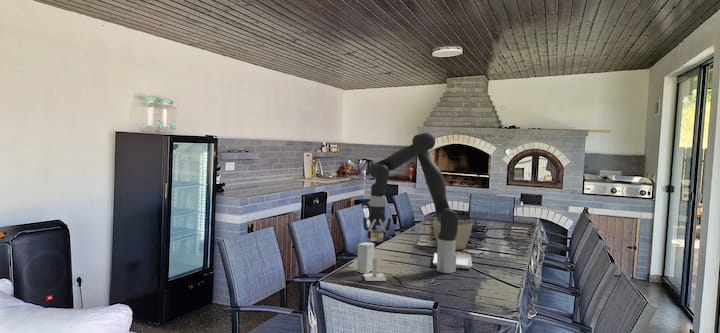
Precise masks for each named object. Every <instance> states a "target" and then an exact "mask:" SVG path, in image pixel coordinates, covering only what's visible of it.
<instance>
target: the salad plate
mask: <svg viewBox="0 0 720 333" xmlns="http://www.w3.org/2000/svg"><path fill="white" fill-rule="evenodd" d="M432 263H433V265H434V266H436V267H437V252H434V255H433V260H432ZM472 267H473V263H472V256H471V255H462V254H456V269H460V268H462V270H463V269H467V270H468V269H470V268H472Z"/></svg>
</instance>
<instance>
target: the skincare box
mask: <svg viewBox="0 0 720 333" xmlns="http://www.w3.org/2000/svg"><path fill="white" fill-rule="evenodd" d="M373 258H375V243H374V242H370V241H369V242H367V241H364V242H362V243H358V244H357V258H356V259H357V266H356V272H357V273H358V272H360V273H359V274H363V273H366V274H367V273H368V274H370V273H371V272H370V271H372V270H373ZM369 272H370V273H369ZM372 272H373V271H372Z"/></svg>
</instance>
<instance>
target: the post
mask: <svg viewBox="0 0 720 333" xmlns="http://www.w3.org/2000/svg"><path fill="white" fill-rule="evenodd" d="M377 270H378V257H377V258H376V257H374V258H373V271H372V273H368V274H363V273H362V276H363V275H364V276H363V279H364V278H365V279H364V281H365V280H366V281H386V282H387V279H386V277H385V274H384V273H378V271H377ZM366 281H365V282H366Z"/></svg>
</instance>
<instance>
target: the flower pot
mask: <svg viewBox="0 0 720 333" xmlns="http://www.w3.org/2000/svg"><path fill="white" fill-rule="evenodd" d="M432 227H433V232H434V237H435V240H436V243H437V245H438V233H440V230H441V224H440V223H439V221H438V220H432ZM472 229H473V223H471V222H470V223H469V222H466V221H463V220H459V219H458V229H457V235H456V242H455V251H457V250H459V251H460V250H465V249H466V247H467V245H468V242H469V239H470V238H471V237H470V236H471V233H472Z"/></svg>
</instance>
